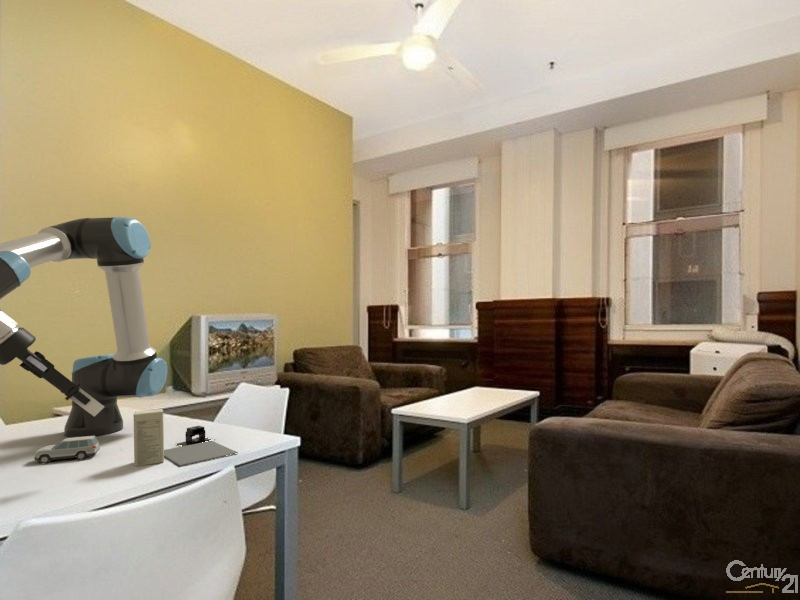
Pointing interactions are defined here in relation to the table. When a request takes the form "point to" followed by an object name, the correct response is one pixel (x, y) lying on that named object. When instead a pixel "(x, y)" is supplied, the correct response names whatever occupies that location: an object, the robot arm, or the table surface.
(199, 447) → the mat
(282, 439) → the table surface
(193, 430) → the black arched bracket
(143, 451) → the skincare box
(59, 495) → the table surface
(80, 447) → the toy car
